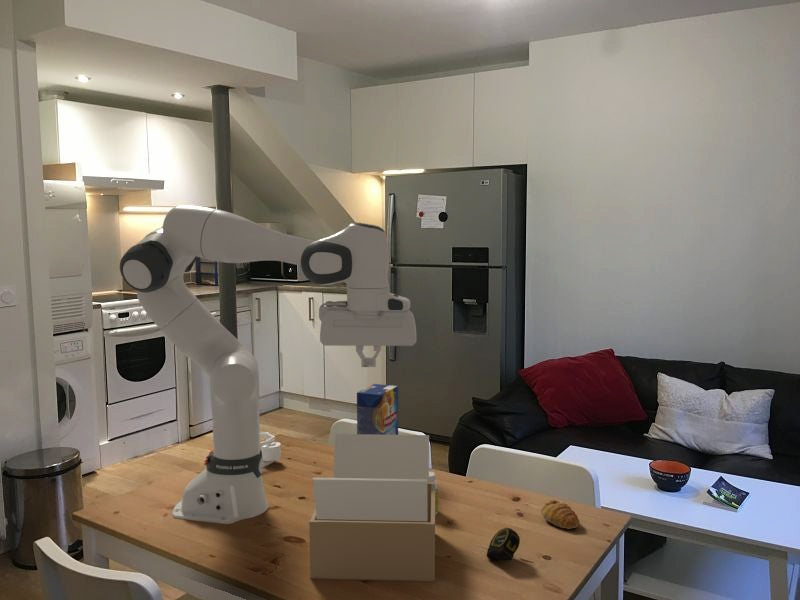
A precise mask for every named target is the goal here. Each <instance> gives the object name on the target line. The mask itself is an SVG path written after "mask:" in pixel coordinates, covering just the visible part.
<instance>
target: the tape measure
mask: <svg viewBox="0 0 800 600" xmlns="http://www.w3.org/2000/svg"><path fill="white" fill-rule="evenodd" d="M520 540H521V539H520V536H519V534H518V533H517V532H516V531H515V530H514V529H512V528H510V527H504V528H502V529H499V530H498V531H497V532H496V533H495V534H494V535H493V536H492V539H491V540H490V543H489V545H488V549H487V553H486V558H487V559H488V560H490V561H493V562H503V561H506V562H507V561H512V560H513V558H514V557H515V553H516V552H517V551H518V548H519V546H520V542H521V541H520Z"/></svg>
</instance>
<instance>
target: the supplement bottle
mask: <svg viewBox="0 0 800 600" xmlns="http://www.w3.org/2000/svg"><path fill="white" fill-rule="evenodd" d="M427 482H435V516H437V515H438V512H439V484H438V482H437V481H436V473H435V472H434V471H430V470H429V481H427Z"/></svg>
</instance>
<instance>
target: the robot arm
mask: <svg viewBox="0 0 800 600" xmlns="http://www.w3.org/2000/svg"><path fill="white" fill-rule="evenodd" d="M389 251H390V250H389V241H388V235H387V233H386V231H385V230H384V229H383V228H382V227H381V226H380V225H375V224H371V223H364V222H352V223H350V224H348V226H347V227H345V228H344V229H342V230H340V231H338V232H336V233H334V234H332V235H330V236H327V237H324V238H321V239H317V240H316V239H311V238H307V237H302V236H299V235H293V234H289V233H288V234H287V233H284V232H280V231H277V230H274V229H273V228H269V227H267V226H264V225H262V224H260V223H257V222H255V221H252V220H250V219H248V218H245V217H243V216H240V215H238V214H235V213H233V212H229V211H226V210H221V209H217V208H212V207H207V206H200V205H182V204H181V205H176V206H174V207H172V208H171V209H170V210H169V211H168V212H167V214H166V215H165V217H164V220H163V223H162V226H161V227H159V228H157V229H155V230H153V231H151V232H149V233H148V234H146V235H145V236H144V237H143V238H142V239H141V240H140V241H138V242H137V243H136V244H134V245H133V246H131V247H129V249H127V251H125V253H124V254H123V256H122V257H121V259H120V262H119V272H120V275H121V278H122V279H123V280H124V282H125V283H126V284H127V285H128V286H129V287H130V288H131V289H132V290H135V291H136V297H137V299H138V301H139V303H140V305H141V306H142V308H143V309H144V311H145V312H146V314H147V315H148V317H149V318H150V319H151V320H152V322H153V323H154V325H156V327H158V329H159V330H160V331H161V332H162V333H163V334H164V335H165V336H166V338H167V339H169V340H170V342H172V343H173V344H174V346H175V347H176V348H177V349H178V350H179V351H180V352H181V353H182V354H183V356H184V357H185V356H186V357H187V358H188V359H189V360H191V361H192V362H194V364H195V365H197V366H198V367H199V368H200V369H201V370H202V371H204V373H206V374H207V375H208V376H209V377H210V378H209V387H210V388H209V390H210V403H211V405H210V407H211V418H212V420H211V421H212V436H213V437H212V440H213V441H212V443H213V444H212V445H213V446H212V447H213V449H211V450H210V451H209V453H208V454H207V456H206V457H205V460H204V461H203V462H204V463H203V466H206V468H205V469H204V470H203V471H201V472H200V473H199V474H197V475H196V476H195V477H193V479H191V481H189V483H187V485H186V487H185V488H184V490H183V493H182V499H181V500H180V501H179V502H178V503H177V504H176V505H175V506H174V507H173V509H172V513H171V514H172V515H171V516H172V517H173V518H174V519H178V520H179V519H180V520H189V521H197V522H204V523H207V522H208V523H216V524H224V525H229V524H234V523H236V522H239V521H242V520H246V519H251V518H254V517H257V516H260V515H262V514H263V513H265V512H266V511H267V510H268V509H269V503H268V500H267V498H266V497H267V496H266V493H265V489H264V481H263V475H262V474H263V472H264V467H263V463H264V460H263V457H262V451H261V447H260V442H261V437H260V433H261V427H260V426H261V425H260V377H259V375H260V374H259V367H258V366H259V365H258V362H257V359H256V357H255V356H254V354H252V352H251V351H250V350H249V349H248V348H247V347H245V345H244V344H242V343H241V341H240V340H238V339H237V337H236V336H235V335H233V333H231V332H230V330H229V329H227V328H226V327H225V326H224V325H223V324H222V323H221V322H220V321H219V320H218V319H217V318H216V317H215V316H214V315H213V313H212V312H211V311H210V310H209V309H208V308H207V307H206V306H205V305H204V303H202V302H201V301H200V299H199V298H198V297H197V296H196V295H195V294H194V293H193V292H192V291H191V289H189V287H188V286H187V284H186V283H185V281H184V274H185V273H189V272H191V271H192V268H193V267H194V265H195V262H196V261H197V259H198V258H201V259H204V260H209V261H213V262H218V263H227V264H243V263H244V264H245V263H252V262H260V261H261V262H263V261H277V262H283V263H287V264H292V265H297V266H299V267H300V268H301V271H302V273H303V275H304V276H305V278H306V279H307V280H309V281H310V282H311V283H312V284H315V285H320V286H330V285H331V286H332V285H336V284H346V300H338V301H332V300H328V301H325V303H324V302H323V303H322V304H320V306H319V307H318V318H319V320H320V323H321V324H320V331H319V342H320V343H321V345H322V346H325V347H326V346H327V347H328V346H329V347H330V346H334V347H335V346H337V347H338V346H339V347H340V346H341V347H342V346H344V347H345V346H346V347H347V346H348V347H349V346H351V347H352V346H354V347H355V350H356V351H355V352H356V353H357V355H358V357H359V358H360V359H361V362H360V363H361V368H376V366H377V357H378V356H379V354H380V353H381V351H382V346H383V347H413V346H414V345H415V344H416V343H417V341H418V340H417V339H418V338H417V326H416V325H417V324H416V320H415V315H414V314H413V312H412V311H411V310H410V308H411V300H410V299H409V298H407V297H405V296H402V295H399V294H397V293H392V292H390V284H389V283H390V282H389V280H388V271H389V268H390V253H389ZM365 347H373V351H374V352H375V353H374V355H373V356H372V357H366V356H365V354H364V352H363V351H364V349H365Z"/></svg>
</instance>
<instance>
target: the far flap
mask: <svg viewBox="0 0 800 600" xmlns="http://www.w3.org/2000/svg"><path fill="white" fill-rule="evenodd" d="M334 437H335V438H334V439H335V440H334V455H333V457H334V458H333V461H334V462H333V476H332V478H371V479H427V481H429V471H430V435H429V434H398V435H370V434H357V433H356V434H353V433H352V434H351V433H350V434H349V433H348V434H347V433H335V435H334Z"/></svg>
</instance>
